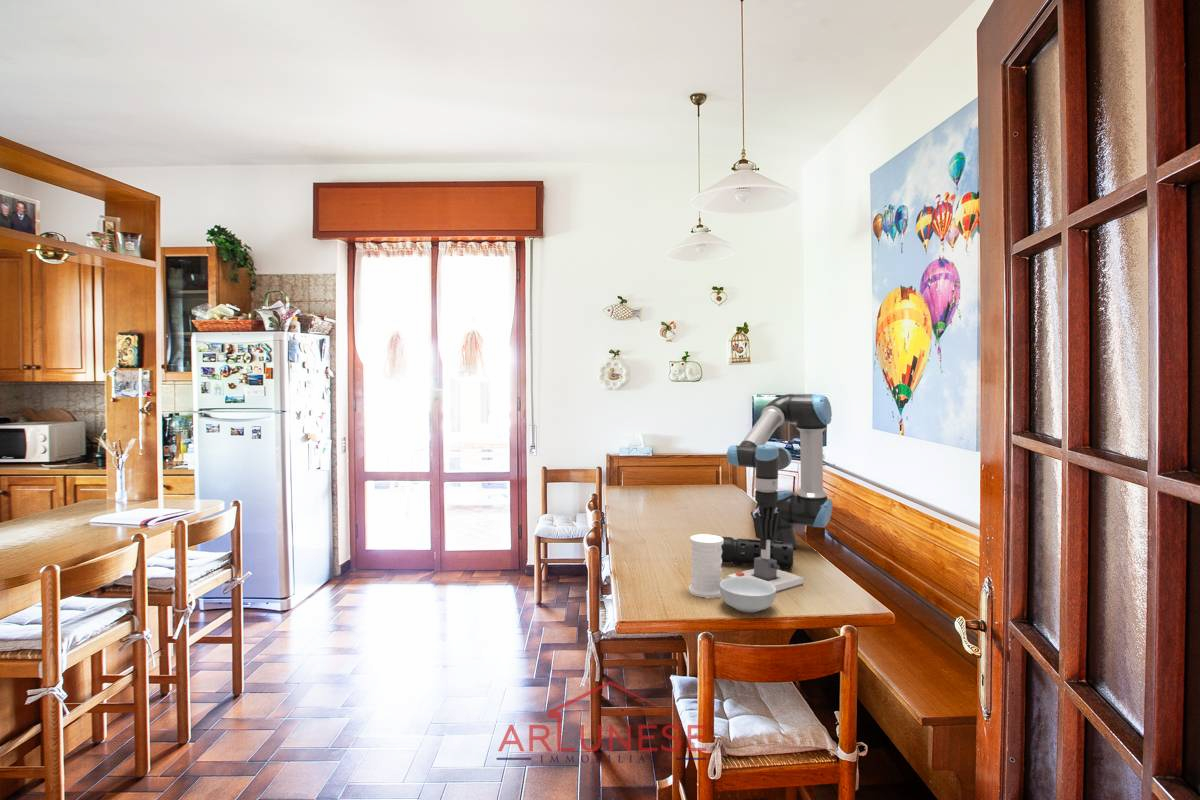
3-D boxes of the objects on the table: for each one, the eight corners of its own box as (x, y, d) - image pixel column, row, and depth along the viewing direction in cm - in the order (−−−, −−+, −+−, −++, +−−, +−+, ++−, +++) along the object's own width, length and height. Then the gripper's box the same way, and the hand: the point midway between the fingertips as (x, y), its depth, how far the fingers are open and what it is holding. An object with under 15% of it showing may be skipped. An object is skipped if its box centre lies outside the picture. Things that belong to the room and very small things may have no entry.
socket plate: (766, 572, 220) (766, 563, 220) (803, 584, 207) (803, 575, 207) (727, 582, 209) (727, 572, 209) (763, 596, 196) (763, 586, 196)
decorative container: (681, 589, 202) (682, 536, 201) (708, 584, 207) (709, 532, 207) (703, 600, 192) (704, 544, 191) (731, 594, 197) (732, 540, 197)
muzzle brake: (793, 573, 220) (793, 545, 220) (715, 567, 227) (715, 539, 227) (791, 565, 229) (791, 538, 229) (716, 559, 236) (716, 533, 236)
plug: (753, 581, 209) (754, 558, 209) (762, 578, 212) (762, 556, 212) (773, 587, 202) (773, 564, 202) (782, 585, 205) (782, 561, 205)
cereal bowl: (736, 621, 176) (736, 597, 175) (710, 601, 192) (710, 579, 191) (786, 615, 180) (787, 592, 180) (757, 596, 196) (757, 574, 196)
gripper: (762, 493, 200) (761, 564, 201) (787, 490, 208) (786, 557, 208) (745, 490, 207) (744, 558, 207) (770, 486, 214) (769, 552, 215)
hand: (765, 558), depth 208 cm, fingers closed
